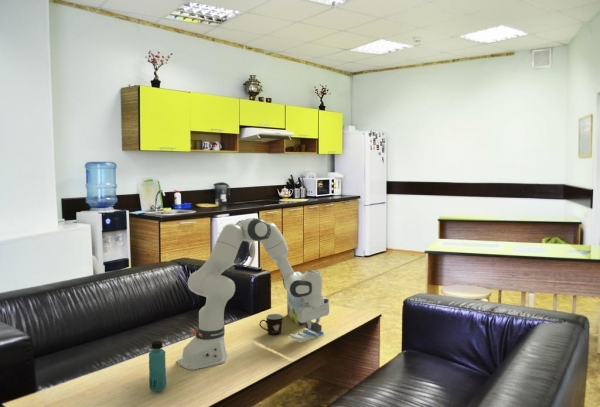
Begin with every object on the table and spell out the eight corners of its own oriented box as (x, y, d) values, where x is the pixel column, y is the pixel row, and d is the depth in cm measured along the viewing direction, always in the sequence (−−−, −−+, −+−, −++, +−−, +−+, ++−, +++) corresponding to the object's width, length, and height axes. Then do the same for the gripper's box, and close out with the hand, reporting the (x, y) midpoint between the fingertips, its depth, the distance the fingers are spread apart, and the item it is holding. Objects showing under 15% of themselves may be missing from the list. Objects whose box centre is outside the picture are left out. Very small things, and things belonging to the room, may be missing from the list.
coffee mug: (283, 332, 248) (283, 314, 247) (281, 338, 239) (281, 319, 238) (262, 331, 249) (262, 313, 248) (259, 337, 241) (259, 318, 240)
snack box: (285, 314, 277) (286, 271, 274) (299, 313, 279) (300, 271, 277) (296, 327, 256) (296, 281, 254) (311, 325, 259) (312, 280, 256)
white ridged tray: (300, 344, 232) (300, 340, 232) (287, 338, 240) (287, 334, 239) (326, 335, 244) (326, 331, 244) (312, 330, 252) (312, 326, 252)
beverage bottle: (168, 387, 187) (167, 338, 186) (164, 395, 181) (163, 344, 179) (151, 387, 187) (150, 338, 185) (146, 395, 181) (145, 345, 179)
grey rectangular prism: (317, 332, 241) (317, 326, 240) (305, 327, 247) (305, 322, 247) (321, 331, 243) (321, 325, 242) (309, 326, 249) (309, 320, 249)
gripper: (303, 306, 234) (302, 333, 236) (331, 298, 248) (331, 324, 249) (294, 303, 239) (294, 330, 240) (322, 296, 253) (322, 321, 254)
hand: (313, 327), depth 245 cm, fingers closed on grey rectangular prism, 3 cm apart
